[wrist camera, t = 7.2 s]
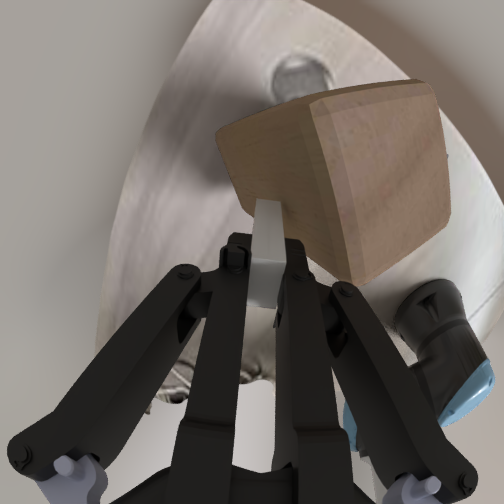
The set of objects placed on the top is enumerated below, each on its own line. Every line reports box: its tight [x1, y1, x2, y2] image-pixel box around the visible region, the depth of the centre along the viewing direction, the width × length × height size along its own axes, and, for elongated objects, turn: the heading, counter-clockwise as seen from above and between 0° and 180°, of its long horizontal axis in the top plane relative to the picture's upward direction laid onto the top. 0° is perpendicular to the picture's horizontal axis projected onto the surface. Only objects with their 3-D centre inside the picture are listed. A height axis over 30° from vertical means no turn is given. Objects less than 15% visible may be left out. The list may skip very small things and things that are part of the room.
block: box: [215, 79, 451, 287], centre depth 21 cm, size 10×10×20 cm
